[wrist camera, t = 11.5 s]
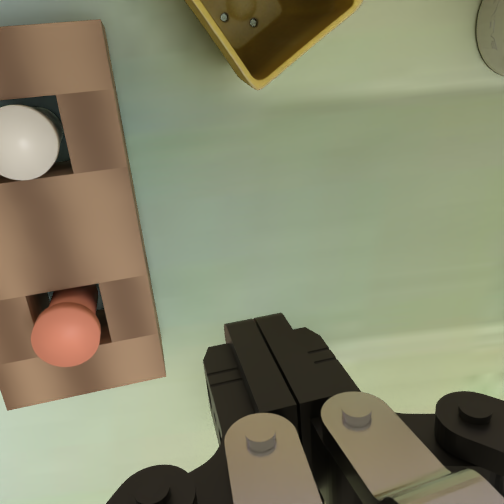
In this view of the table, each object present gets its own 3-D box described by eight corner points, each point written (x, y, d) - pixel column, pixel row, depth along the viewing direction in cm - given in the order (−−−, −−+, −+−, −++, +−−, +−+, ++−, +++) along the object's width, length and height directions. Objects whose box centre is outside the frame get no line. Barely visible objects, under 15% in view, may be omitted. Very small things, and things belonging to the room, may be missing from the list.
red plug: (98, 265, 39) (92, 304, 32) (109, 313, 40) (105, 359, 34) (41, 274, 38) (23, 316, 31) (54, 323, 40) (40, 373, 33)
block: (104, 27, 35) (100, 19, 29) (161, 338, 44) (166, 376, 39) (-79, 41, 32) (-121, 35, 27) (22, 366, 42) (7, 410, 36)
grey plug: (62, 96, 35) (47, 101, 28) (76, 156, 37) (64, 175, 30) (-3, 102, 34) (-33, 110, 28) (14, 164, 36) (-11, 185, 29)
